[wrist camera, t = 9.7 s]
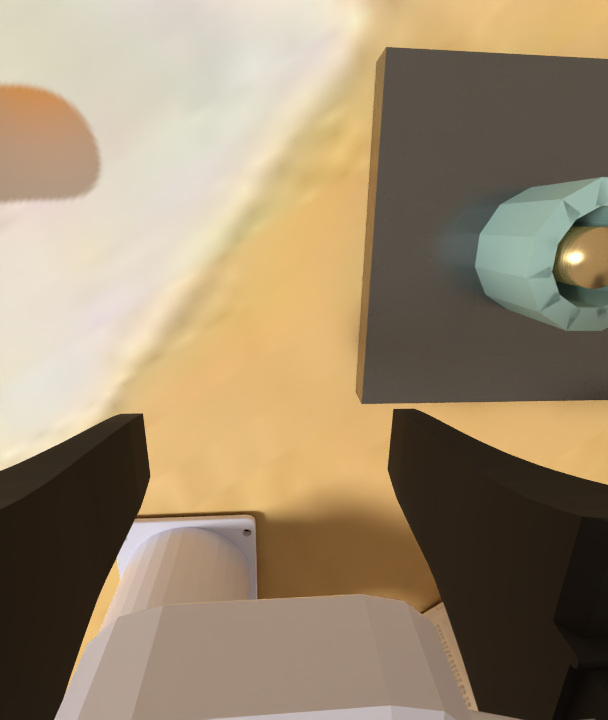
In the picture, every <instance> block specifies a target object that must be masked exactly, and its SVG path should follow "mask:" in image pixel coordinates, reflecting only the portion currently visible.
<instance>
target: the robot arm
mask: <svg viewBox="0 0 608 720" xmlns="http://www.w3.org/2000/svg"><path fill="white" fill-rule="evenodd" d="M388 472H389V475H390V479H391V482H392V485H393V488H394V491H395V495H396V498H397V500H398V502H399V504H400V506H401V509H402V511H403V513H404V515H405V517H406V519H407V521H408V523H409V525H410V527H411V530H412V532H413V534H414V536H415V538H416V540H417V542H418V544H419V546H420V548H421V550H422V552H423V554H424V556H425V558H426V561H427V563H428V565H429V567H430V569H431V572H432V574H433V576H434V579H435V581H436V584H437V587H438V590H439V592H440V595H441V598H442V601H443V604H444V606H445V609H446V612H447V615H448V618H449V621H450V624H451V627H452V630H453V633H454V636H455V639H456V642H457V645H458V647H459V650H460V653H461V656H462V660H463V663H464V666H465V669H466V673H467V676H468V679H469V682H470V686H471V689H472V692H473V695H474V699H475V702H476V705H477V708H478V711H474V710H469V709H467V706H466V704H465V701H464V699H463V696H462V694H461V691H460V689H459V686H458V684H457V682H456V679H455V677H454V674H453V672H452V669H451V667H450V664H449V662H448V659H447V657H446V654H445V652H444V649H443V647H442V644H441V642H440V640H439V637H438V635H437V632H436V630H435V627H434V625H433V623H432V622H431V621H430V620H428V619H427V618H426V617H425V616H423V615H422V614H421V613H419V612H418V611H417V610H416V609H414V608H413V607H412V606H411V605H409V604H408V603H407V602H406V601H402V600H397V599H391V598H384V597H378V596H372V595H365V594H348V595H329V596H311V597H292V598H273V599H258V594H257V554H256V521H255V518H254V517H253V516H251V515H224V516H197V517H171V518H144V519H135V518H136V516H137V514H138V512H139V510H140V508H141V505H142V502H143V499H144V496H145V493H146V489H147V486H148V483H149V479H150V469H149V461H148V452H147V444H146V436H145V428H144V419H143V414H119V415H116V416H114V417H111V418H109V419H107V420H105V421H103V422H101V423H99V424H97V425H95V426H93V427H91V428H89V429H87V430H85V431H84V432H82V433H80V434H78V435H76V436H74V437H72V438H70V439H68V440H66V441H64V442H62V443H60V444H58V445H56V446H54V447H52V448H50V449H48V450H46V451H44V452H42V453H40V454H38V455H36V456H34V457H31V458H29V459H27V460H25V461H23V462H21V463H18V464H16V465H14V466H11V467H9V468H7V469H4V470H2V471H0V720H608V485H606V484H602V483H598V482H594V481H590V480H586V479H582V478H579V477H575V476H572V475H568V474H565V473H562V472H558V471H555V470H552V469H549V468H545V467H542V466H539V465H537V464H534V463H531V462H528V461H526V460H523V459H520V458H518V457H515V456H512V455H510V454H508V453H505V452H503V451H500V450H498V449H496V448H494V447H492V446H489V445H487V444H485V443H483V442H481V441H478V440H476V439H474V438H472V437H470V436H468V435H466V434H464V433H462V432H460V431H458V430H457V429H455V428H453V427H451V426H449V425H447V424H445V423H443V422H441V421H439V420H437V419H436V418H434V417H432V416H430V415H428V414H426V413H423V412H421V411H419V410H416V409H394V410H393V420H392V430H391V441H390V451H389V461H388ZM246 529H248V530H250V531H249V532H245V531H244V530H246ZM116 558H117V563H118V569H119V575H120V583H119V585H118V587H117V590H116V592H115V594H114V597H113V599H112V601H111V604H110V606H109V608H108V611H107V613H106V615H105V618H104V620H103V623H102V625H101V627H100V630H99V632H98V634H97V636H96V637H95V638H94V639H92V640H91V641H90V642H89V643H88V644H87V646H86V648H85V651H84V653H83V655H82V657H81V660H80V662H79V664H78V667H77V669H76V671H75V673H74V676H73V678H72V680H71V683H70V685H69V687H68V689H67V692H66V688H67V685H68V682H69V679H70V676H71V673H72V670H73V667H74V664H75V661H76V658H77V656H78V653H79V650H80V647H81V644H82V641H83V638H84V635H85V632H86V629H87V627H88V624H89V621H90V618H91V616H92V613H93V610H94V607H95V605H96V602H97V599H98V597H99V594H100V592H101V590H102V587H103V585H104V583H105V580H106V578H107V576H108V574H109V572H110V570H111V568H112V566H113V564H114V562H115V560H116ZM65 692H66V694H65ZM64 695H65V696H64Z"/></svg>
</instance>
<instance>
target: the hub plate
mask: <svg viewBox="0 0 608 720" xmlns="http://www.w3.org/2000/svg"><path fill="white" fill-rule="evenodd" d="M600 177H608V59H596V58H578V57H559V56H541V55H522V54H504V53H485V52H466V51H448V50H429V49H411V48H392V47H386V48H385V50H384V51H383V53H382V55H381V56H380V58H379V59H378V61H377V64H376V80H375V95H374V111H373V127H372V143H371V159H370V174H369V190H368V206H367V222H366V238H365V253H364V269H363V285H362V301H361V317H360V332H359V348H358V364H357V380H356V394H357V396H358V398H359V400H360V402H361V404H383V403H445V402H507V401H568V400H608V328H606V329H604V330H602V331H565V330H563V329H560V328H557V327H554V326H552V325H549V324H546V323H543V322H540V321H538V320H535V319H532V318H529V317H527V316H524V315H521V314H518V313H515V312H513V311H510V310H508V309H506V308H505V307H503V306H502V305H500V304H499V303H497V302H496V301H494V300H493V299H491V298H490V297H488V296H487V295H486V294H485V292H484V289H483V287H482V284H481V282H480V279H479V277H478V274H477V271H476V269H475V263H476V256H477V249H478V243H479V236H480V233H481V232H482V230H483V229H484V227H485V226H486V224H487V223H488V221H489V220H490V219H491V217H492V216H493V214H494V213H495V211H496V210H497V208H498V207H499V206H500V204H502V203H504V202H506V201H507V200H509V199H511V198H513V197H514V196H516V195H518V194H520V193H522V192H523V191H525V190H527V189H529V188H531V187H537V186H544V185H551V184H558V183H565V182H572V181H579V180H586V179H593V178H600ZM552 273H553V276H554V279H555V282H560V283H565V284H570V285H575V286H579V287H584V288H589V289H598V288H602V287H605V286H607V285H608V227H576V226H571V227H570V229H569V230H568V231H567V233H566V234H565V235H564V237H563V238H562V239H561V241H560V242H559V243H558V246H557V251H556V255H555V260H554V265H553V270H552Z"/></svg>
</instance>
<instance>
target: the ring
mask: <svg viewBox="0 0 608 720" xmlns="http://www.w3.org/2000/svg"><path fill="white" fill-rule="evenodd" d="M571 226H576V227H608V177H600V178H593V179H586V180H579V181H572V182H565V183H558V184H551V185H544V186H537V187H531V188H529V189H527V190H525V191H523V192H522V193H520V194H518V195H516V196H514V197H513V198H511V199H509V200H507V201H506V202H504V203H502V204H500V206H499V207H498V208H497V210H496V211H495V213H494V214H493V216H492V217H491V219H490V220H489V221H488V223H487V224H486V226H485V227H484V229H483V230H482V232H481V233H480V236H479V243H478V249H477V256H476V263H475V269H476V271H477V274H478V277H479V279H480V282H481V284H482V287H483V289H484V292H485V294H486V295H487V296H488V297H490V298H491V299H493V300H494V301H496V302H497V303H499V304H500V305H502V306H503V307H505V308H506V309H508V310H510V311H513V312H515V313H518V314H521V315H524V316H527V317H529V318H532V319H535V320H538V321H540V322H543V323H546V324H549V325H552V326H554V327H557V328H560V329H563V330H565V331H602V330H604V329H606V328H608V285H607V286H605V287H602V288H598V289H589V288H584V287H579V286H575V285H570V284H565V283H560V282H555V279H554V276H553V273H552V270H553V265H554V260H555V255H556V251H557V246H558V243H559V242H560V241H561V239H562V238H563V237H564V235H565V234H566V233H567V231H568V230H569V229H570V227H571Z"/></svg>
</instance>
